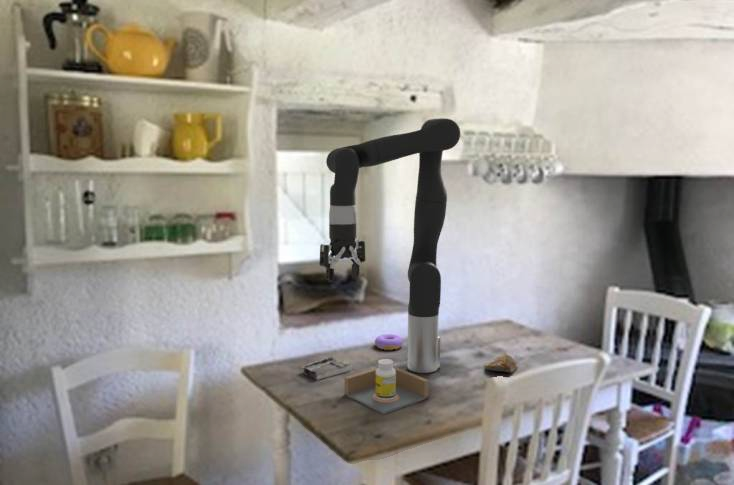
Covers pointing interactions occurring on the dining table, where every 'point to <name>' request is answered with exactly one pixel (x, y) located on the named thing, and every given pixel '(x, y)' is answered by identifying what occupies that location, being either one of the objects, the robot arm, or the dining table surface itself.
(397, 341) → the donut
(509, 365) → the decorative stone
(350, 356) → the dining table surface
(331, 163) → the robot arm
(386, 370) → the supplement bottle
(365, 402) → the corner arena
